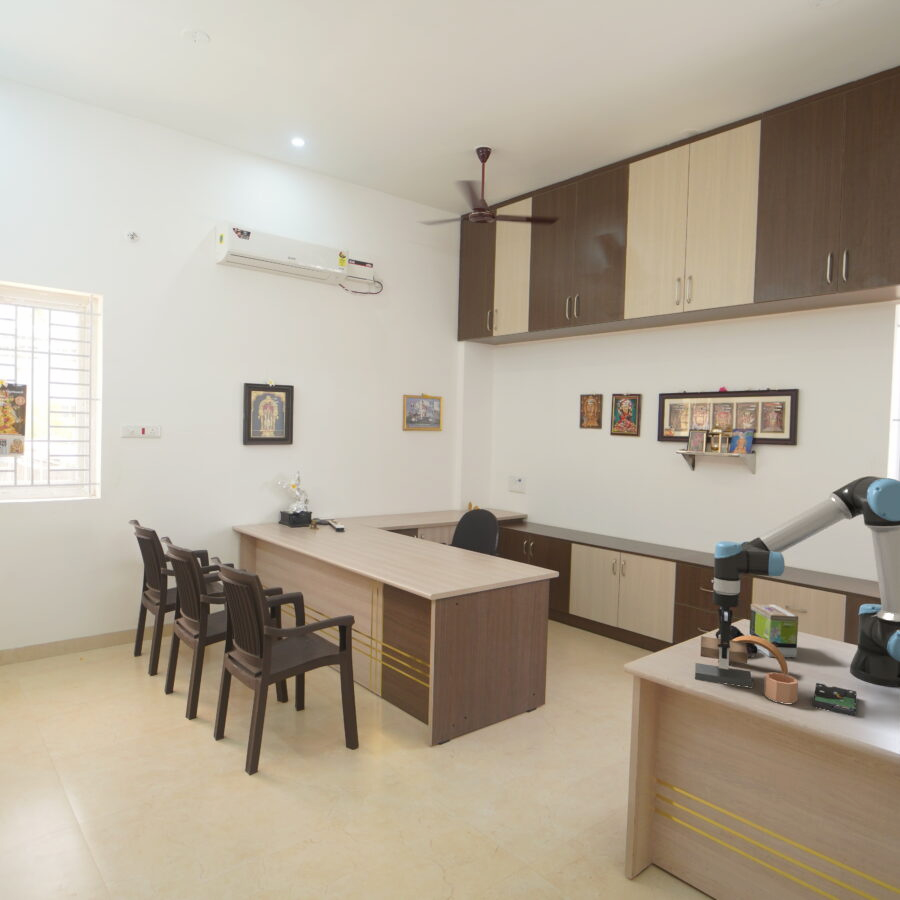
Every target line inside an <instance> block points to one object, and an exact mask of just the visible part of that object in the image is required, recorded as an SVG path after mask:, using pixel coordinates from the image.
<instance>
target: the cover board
mask: <svg viewBox="0 0 900 900" xmlns="http://www.w3.org/2000/svg"><path fill="white" fill-rule="evenodd" d="M718 644H720V639H718V638H717V637H709V636H704V635H703V636H700V657H703V658H709V659H715V660H719V648H720V647H718ZM726 644H727V643H726ZM748 659H749V657H748V652H747V647H746V642H739V641H732V640H730V648H729V662H735V663H742V664H748Z"/></svg>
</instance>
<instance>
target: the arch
mask: <svg viewBox="0 0 900 900" xmlns="http://www.w3.org/2000/svg"><path fill="white" fill-rule="evenodd" d="M732 641H739V642H746V643H753V644H757V645H759V646H761V647H763V648H765V649H767V650H768V651H769V652H770V653H771V654H772V655H773V656H774V657H773V658H775V660H776V661H777V663H778V664H779V667H780V670H781V673H782V674H787V673H789V667H788V664H787V661H786V657H784V656H783V655H782V653H781V652H780V650H779V649H778V648H777V647H776V646H775V645H773V644H772V643H771V642H769V641H767V640H765V639H763V638H760V637H757V636H750V635H747V634H746V635H745V636H740V637H737V638H735V639H733V640H732ZM717 662H718V663H719V659H717ZM718 663H717V664H718ZM787 675H788V674H787Z"/></svg>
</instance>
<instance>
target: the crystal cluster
mask: <svg viewBox="0 0 900 900" xmlns="http://www.w3.org/2000/svg"><path fill="white" fill-rule="evenodd" d="M719 635H721V634H719V629H718V631H716V632H715V635H714V636H715V638H718V639H719ZM740 636H746V635H745V634H744V633H742V631H741V630H740V629H739V628H738V627H736V626H735V625H732V624H731V626H730V640H733V639H735V638H737V637H740ZM746 647H747V652H748V658H750V657H751V658H753V657H752V656H754V657H756V655H757V653H758V651H759V649H758V648H757V647H756V646H755V645H754V644H753V643H746Z"/></svg>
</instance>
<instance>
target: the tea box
mask: <svg viewBox="0 0 900 900" xmlns="http://www.w3.org/2000/svg"><path fill="white" fill-rule="evenodd" d="M749 615H750V616H749V633H748V634H749V635H750V636H757V637H760V638H763V639H765V640H767V641H769V642H771V643H772V644H773V645H775V646H776V647H777V648H778V649H779V650H780V652H781V653H782V655H783V656H784V658H786V657H796V658H797V652H798V651H797V649H798V647H797V646H798V635H799V615H797V614H795V613H793V612H791V611H789V610H788V609H786V608H783V607H782V606H780V605H778V604H766V603H764V604H762V603H750V614H749ZM754 645H755V646H756V647H757V649H758V651H759V650H760V651H761V652H762V653H763V654H764V655H766V656H767V657H771V658H775V657H774V656H773V655H772V654H771V653H770V652H769V651H768V650H767V649H765V648H763V647H761V646H759V645H757V644H754Z"/></svg>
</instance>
